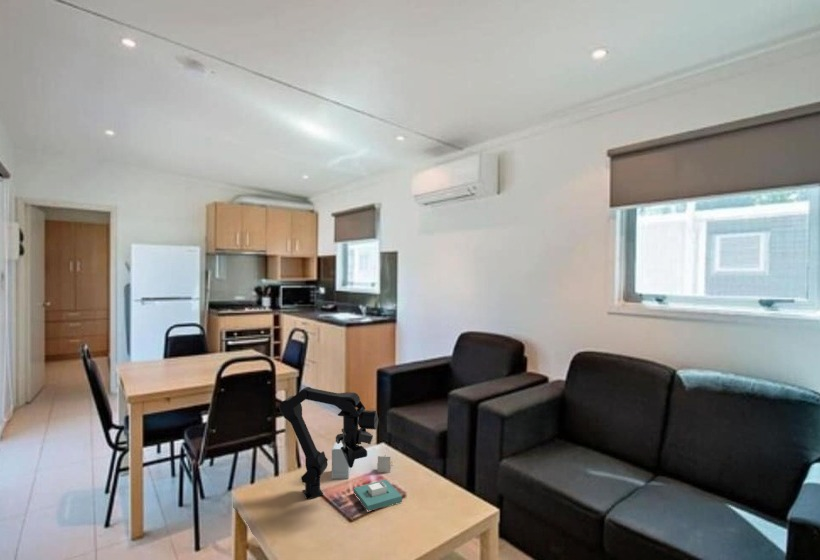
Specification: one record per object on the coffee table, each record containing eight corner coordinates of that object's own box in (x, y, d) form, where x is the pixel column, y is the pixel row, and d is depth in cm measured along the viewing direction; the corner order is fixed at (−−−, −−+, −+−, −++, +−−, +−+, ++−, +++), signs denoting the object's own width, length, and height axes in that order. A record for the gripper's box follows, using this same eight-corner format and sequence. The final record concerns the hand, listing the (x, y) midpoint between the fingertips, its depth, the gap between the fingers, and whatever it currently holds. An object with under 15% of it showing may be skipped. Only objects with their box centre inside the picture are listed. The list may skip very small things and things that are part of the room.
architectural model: (378, 469, 185) (378, 452, 184) (393, 469, 184) (394, 453, 184) (377, 473, 181) (377, 456, 181) (393, 473, 181) (393, 456, 181)
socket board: (353, 494, 164) (353, 487, 163) (386, 485, 170) (386, 479, 170) (367, 512, 151) (367, 505, 151) (402, 502, 158) (402, 495, 158)
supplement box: (348, 479, 175) (348, 449, 175) (331, 478, 175) (331, 449, 175) (351, 470, 183) (351, 442, 182) (334, 470, 183) (334, 441, 182)
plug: (368, 498, 161) (368, 484, 161) (382, 494, 164) (382, 481, 164) (372, 503, 158) (372, 489, 157) (386, 499, 160) (386, 485, 160)
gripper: (380, 431, 156) (380, 473, 156) (361, 415, 172) (361, 453, 172) (351, 437, 150) (351, 480, 151) (335, 420, 167) (335, 459, 167)
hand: (350, 467), depth 160 cm, fingers closed
